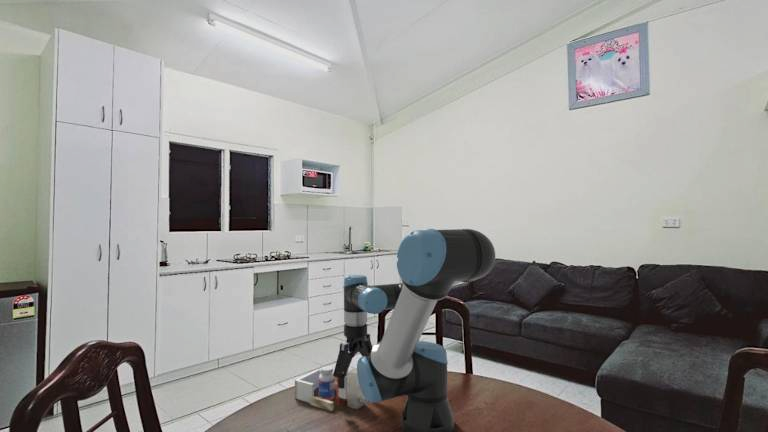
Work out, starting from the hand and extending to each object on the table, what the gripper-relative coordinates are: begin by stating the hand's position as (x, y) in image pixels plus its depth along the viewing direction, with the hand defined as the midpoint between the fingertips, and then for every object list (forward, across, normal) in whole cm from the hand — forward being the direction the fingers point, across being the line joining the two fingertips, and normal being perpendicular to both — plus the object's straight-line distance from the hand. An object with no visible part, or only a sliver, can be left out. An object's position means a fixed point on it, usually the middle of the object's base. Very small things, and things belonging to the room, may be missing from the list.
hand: (355, 389), depth 124 cm
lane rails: (+5, 0, -8) cm, 10 cm away
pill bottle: (+5, 0, -12) cm, 13 cm away
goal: (+5, 0, -17) cm, 17 cm away
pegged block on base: (+5, 0, 0) cm, 5 cm away
